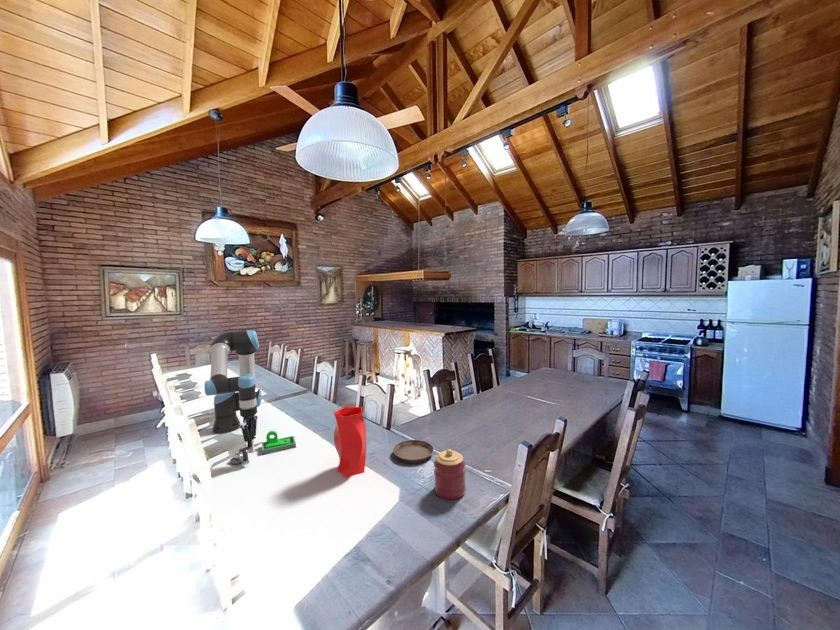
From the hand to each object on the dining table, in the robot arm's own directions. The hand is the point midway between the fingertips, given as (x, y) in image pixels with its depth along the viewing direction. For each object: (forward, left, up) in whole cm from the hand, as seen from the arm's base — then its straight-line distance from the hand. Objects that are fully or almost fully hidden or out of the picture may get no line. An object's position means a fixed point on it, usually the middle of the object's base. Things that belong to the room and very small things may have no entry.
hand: (251, 452), depth 162 cm
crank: (-1, -4, -4) cm, 6 cm away
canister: (+69, +74, -5) cm, 101 cm away
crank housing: (-5, -6, -5) cm, 9 cm away
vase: (+32, +42, -5) cm, 53 cm away
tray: (-11, +13, -5) cm, 18 cm away
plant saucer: (+34, +74, -6) cm, 82 cm away
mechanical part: (-12, +13, -5) cm, 18 cm away
